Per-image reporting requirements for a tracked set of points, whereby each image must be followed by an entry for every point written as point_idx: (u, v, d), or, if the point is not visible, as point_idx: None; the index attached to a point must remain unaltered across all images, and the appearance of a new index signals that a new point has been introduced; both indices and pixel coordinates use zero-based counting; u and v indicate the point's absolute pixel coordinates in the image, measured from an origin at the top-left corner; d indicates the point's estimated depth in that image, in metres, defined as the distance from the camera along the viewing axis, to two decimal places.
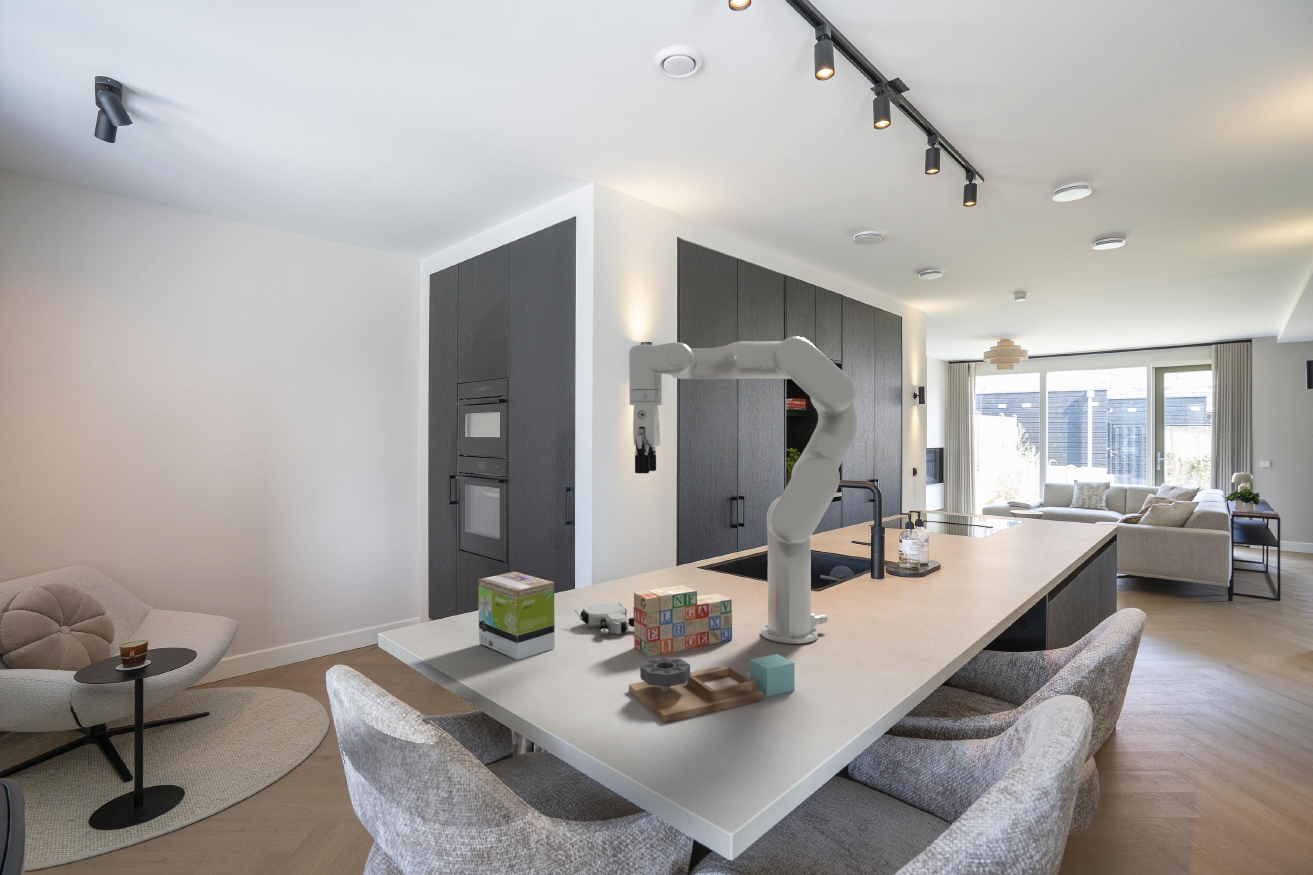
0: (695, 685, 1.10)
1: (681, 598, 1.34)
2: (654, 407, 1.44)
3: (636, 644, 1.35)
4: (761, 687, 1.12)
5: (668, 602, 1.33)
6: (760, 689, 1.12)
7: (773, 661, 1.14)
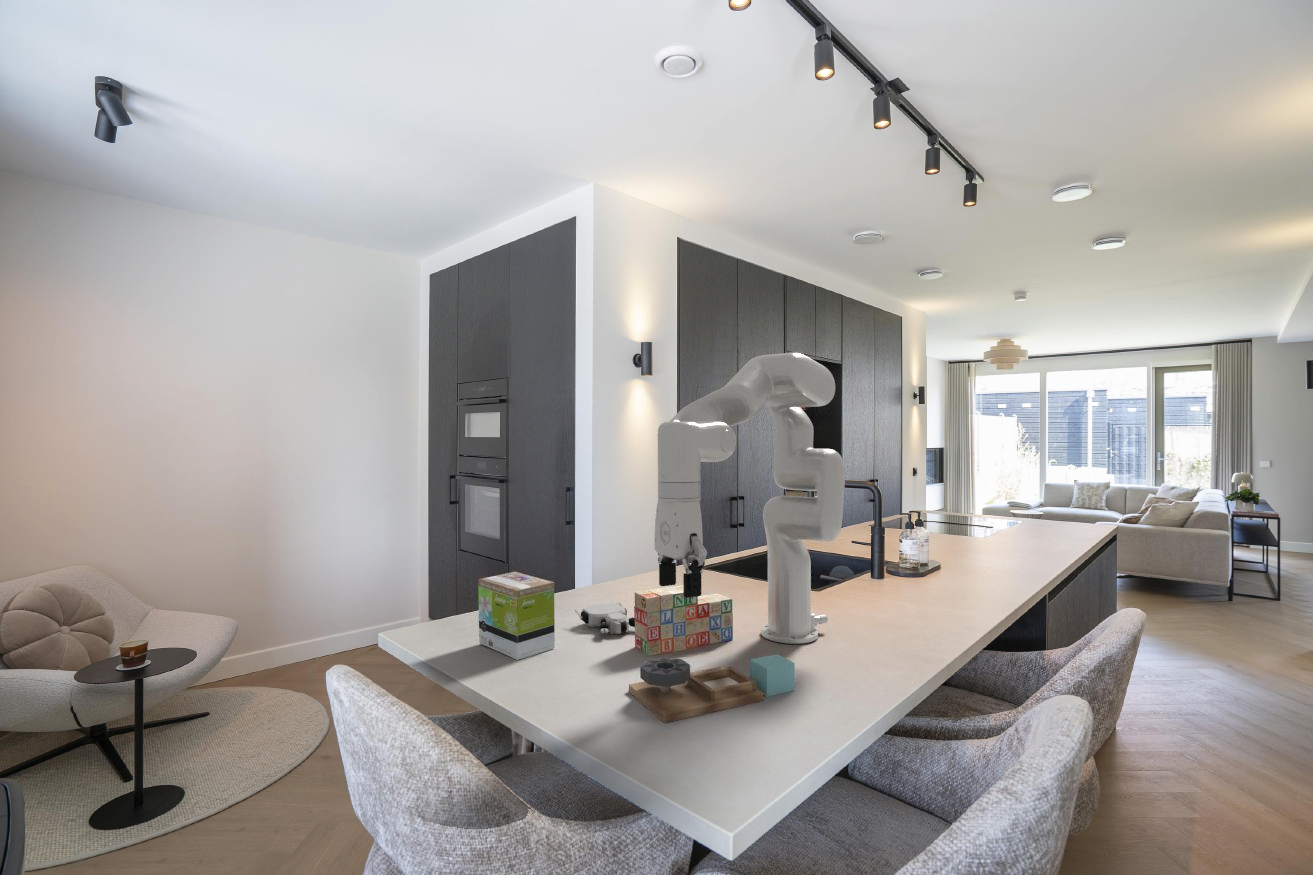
0: (695, 685, 1.10)
1: (681, 598, 1.35)
2: (659, 503, 1.12)
3: (637, 644, 1.36)
4: (761, 687, 1.12)
5: (668, 602, 1.33)
6: (760, 689, 1.12)
7: (773, 661, 1.14)
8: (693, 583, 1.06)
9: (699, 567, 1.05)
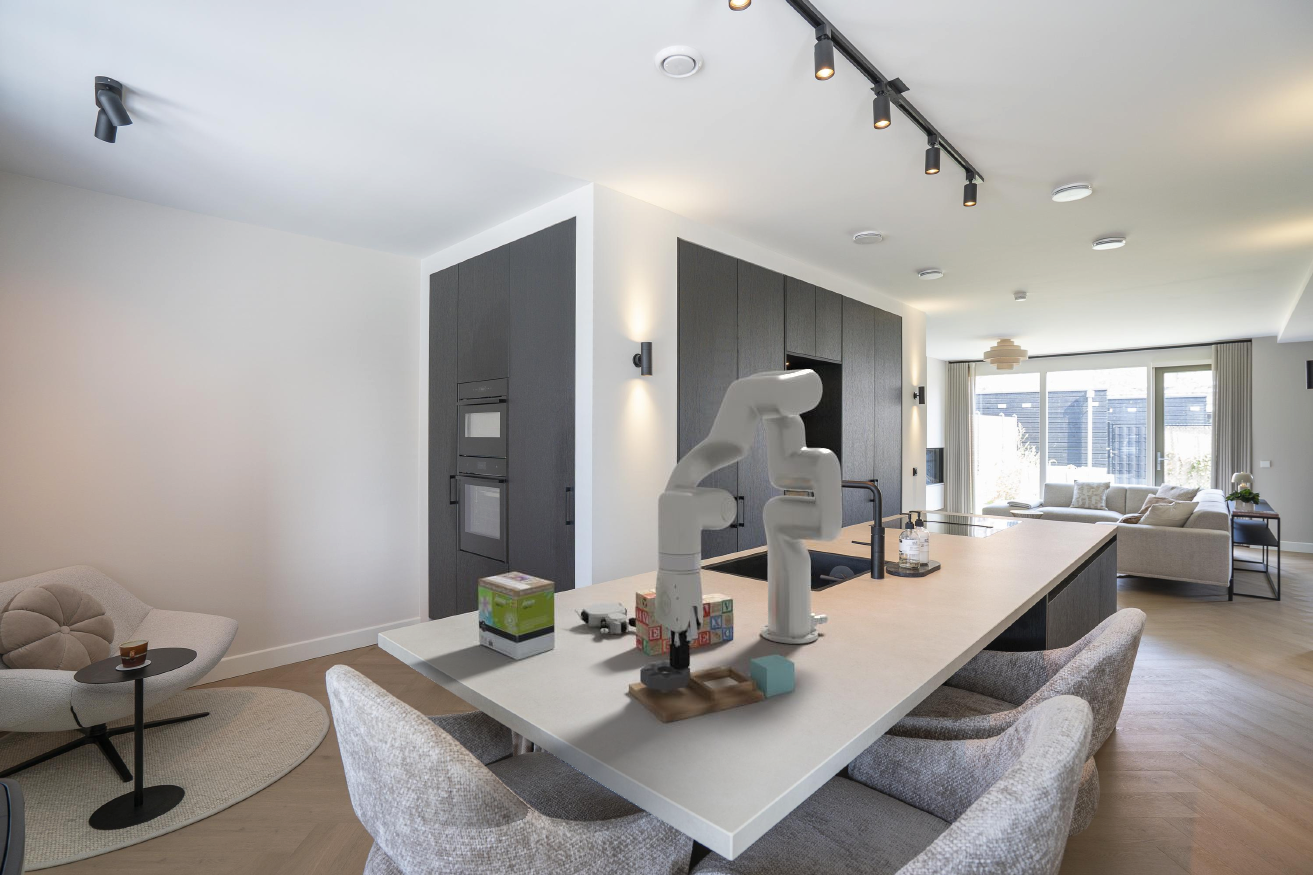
0: (695, 685, 1.10)
1: None
2: (659, 572, 1.12)
3: (638, 643, 1.36)
4: (761, 687, 1.12)
5: None
6: (760, 689, 1.12)
7: (773, 660, 1.14)
8: (682, 655, 1.09)
9: (687, 640, 1.09)
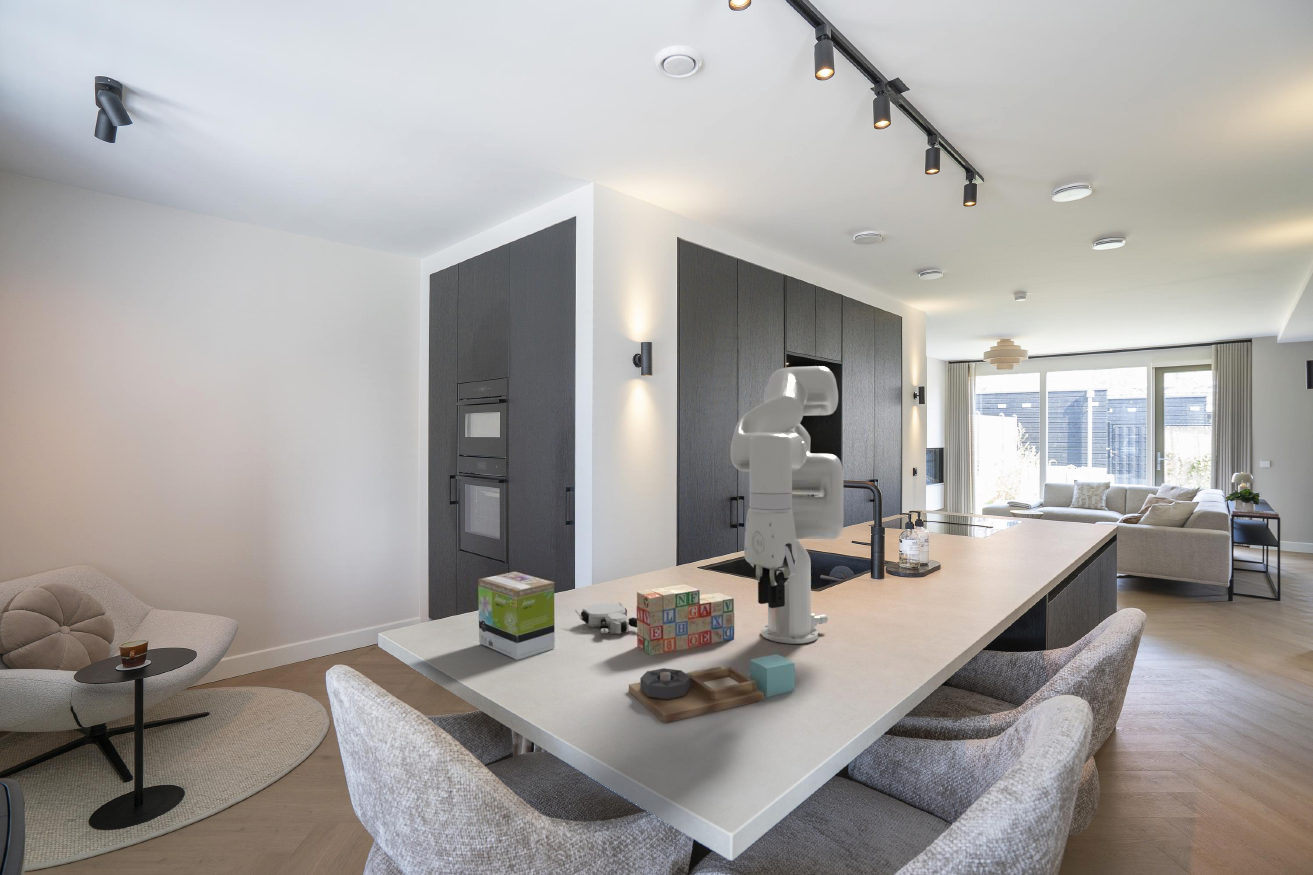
0: (695, 685, 1.10)
1: (684, 597, 1.35)
2: (750, 513, 1.15)
3: (639, 643, 1.36)
4: (761, 687, 1.12)
5: (671, 602, 1.34)
6: (760, 689, 1.12)
7: (773, 660, 1.14)
8: (778, 594, 1.11)
9: (784, 579, 1.11)
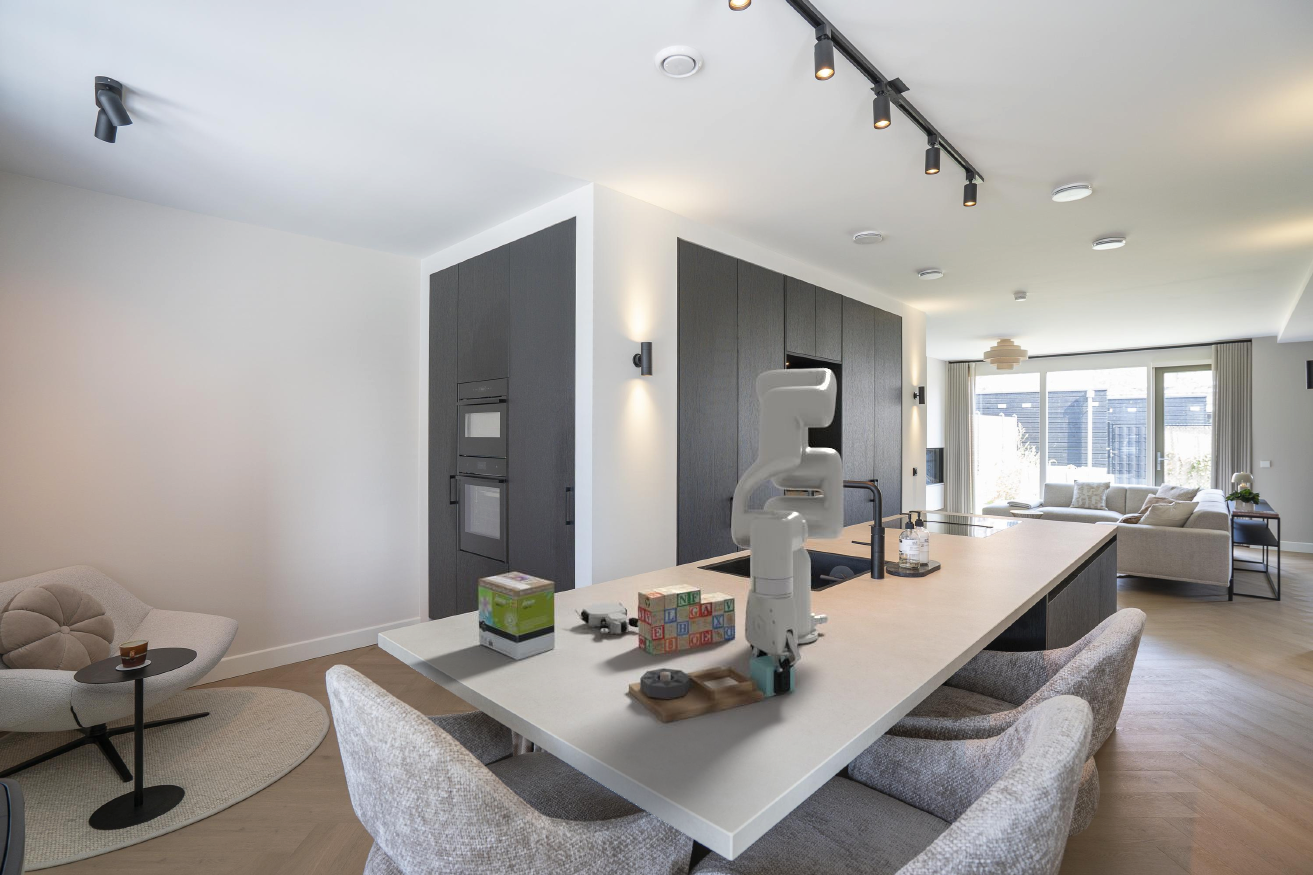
0: (695, 685, 1.10)
1: (685, 597, 1.35)
2: (751, 595, 1.15)
3: (640, 643, 1.36)
4: (761, 686, 1.12)
5: (672, 601, 1.34)
6: (760, 688, 1.12)
7: (773, 660, 1.14)
8: (783, 680, 1.10)
9: (790, 665, 1.09)
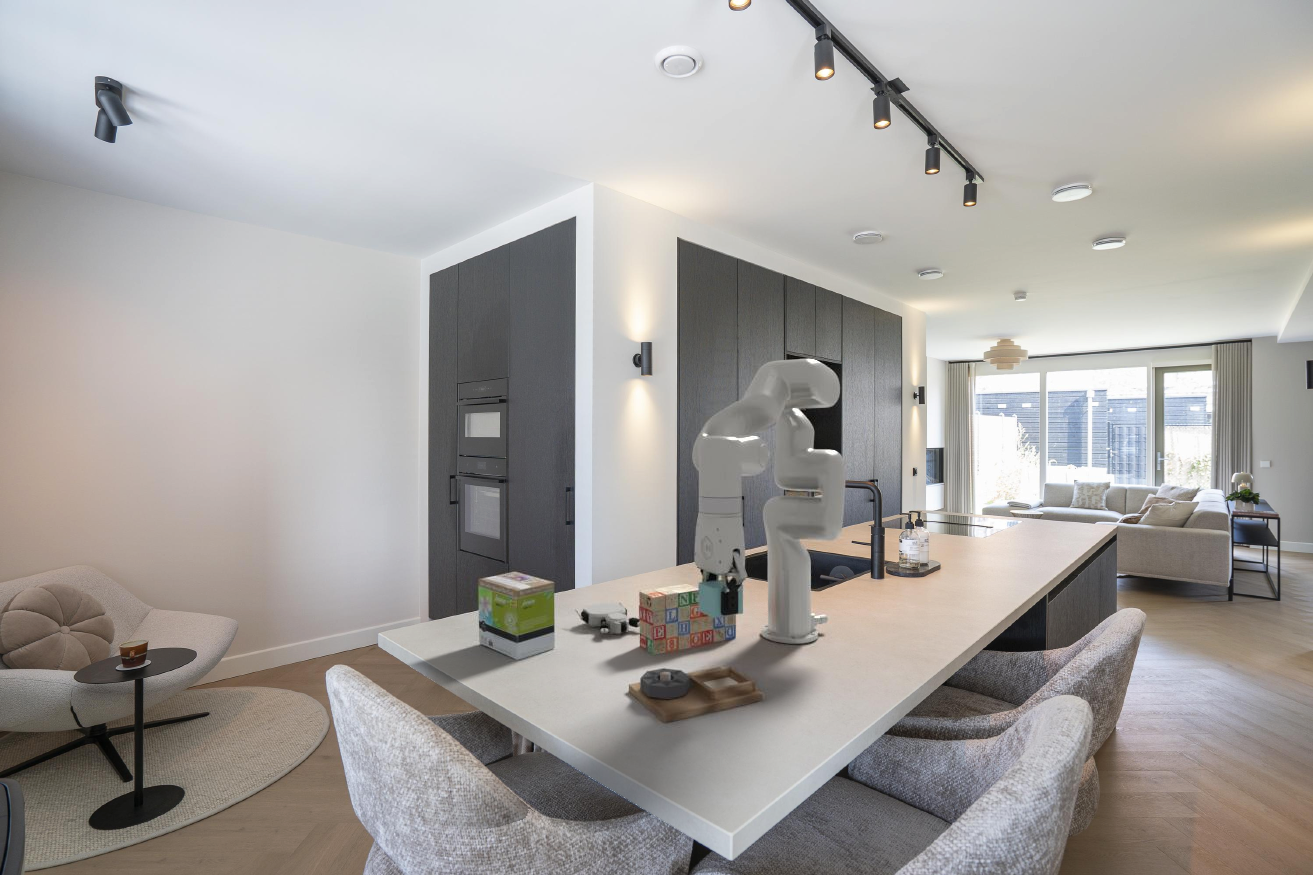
0: (695, 685, 1.10)
1: (686, 596, 1.36)
2: (700, 518, 1.13)
3: (642, 643, 1.36)
4: (708, 609, 1.09)
5: (673, 601, 1.34)
6: (707, 611, 1.09)
7: (721, 583, 1.11)
8: (731, 601, 1.08)
9: (737, 585, 1.07)
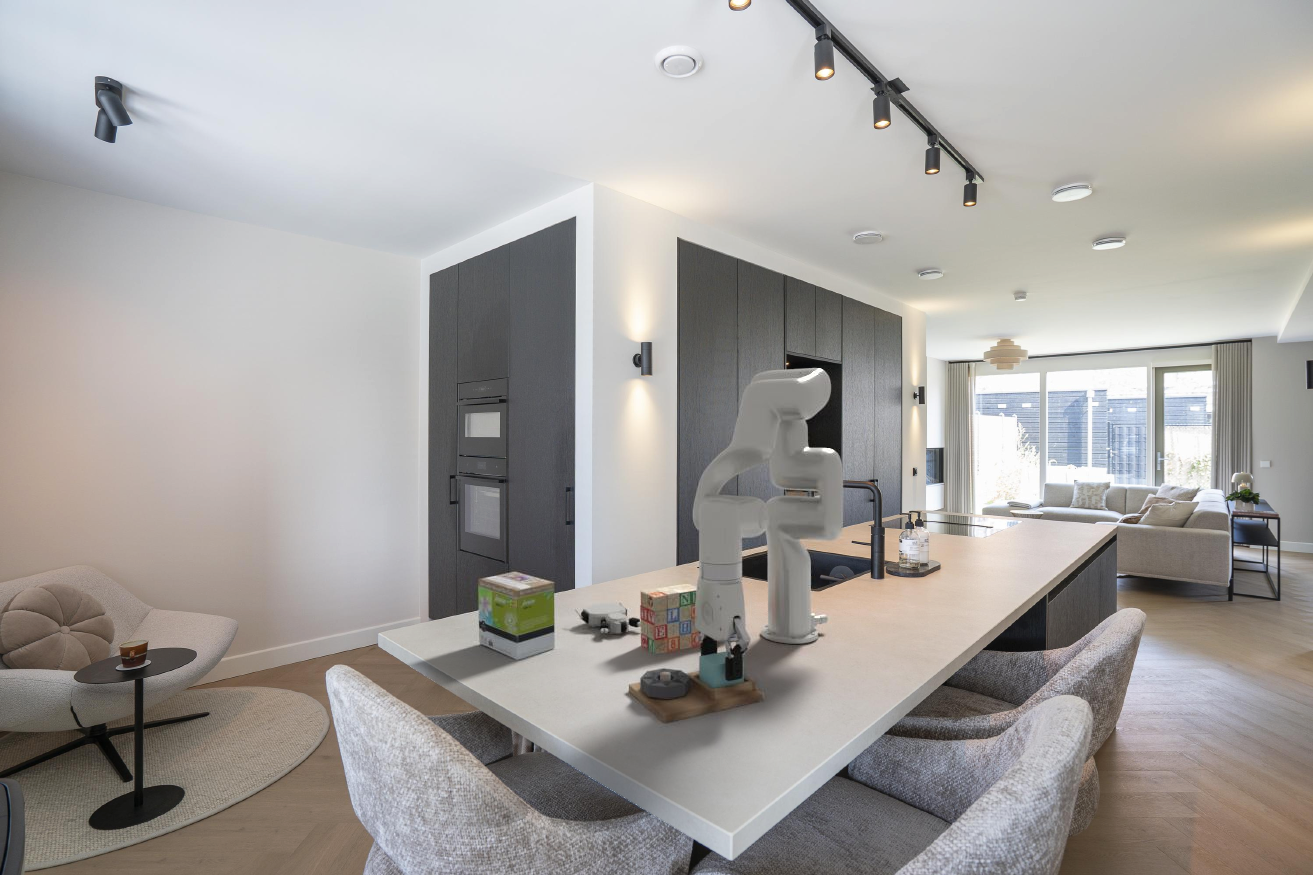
0: (695, 685, 1.10)
1: (687, 596, 1.36)
2: (700, 581, 1.13)
3: (643, 642, 1.36)
4: (709, 684, 1.09)
5: (675, 601, 1.34)
6: None
7: (722, 657, 1.11)
8: (735, 667, 1.07)
9: (741, 651, 1.06)
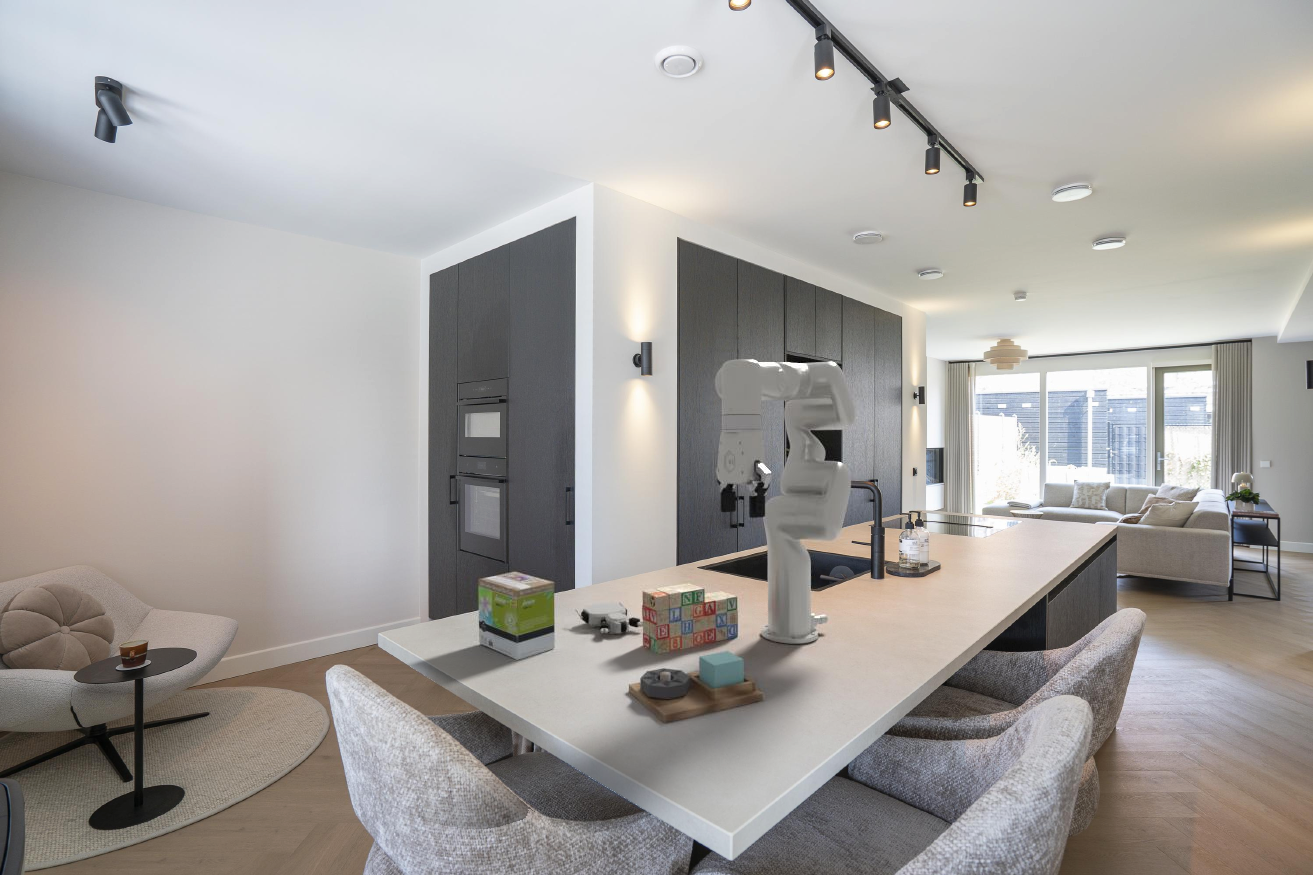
0: (695, 685, 1.10)
1: (689, 596, 1.36)
2: (722, 436, 1.22)
3: (645, 642, 1.37)
4: (709, 684, 1.09)
5: (677, 600, 1.35)
6: None
7: (722, 657, 1.11)
8: (758, 504, 1.16)
9: (764, 489, 1.15)
